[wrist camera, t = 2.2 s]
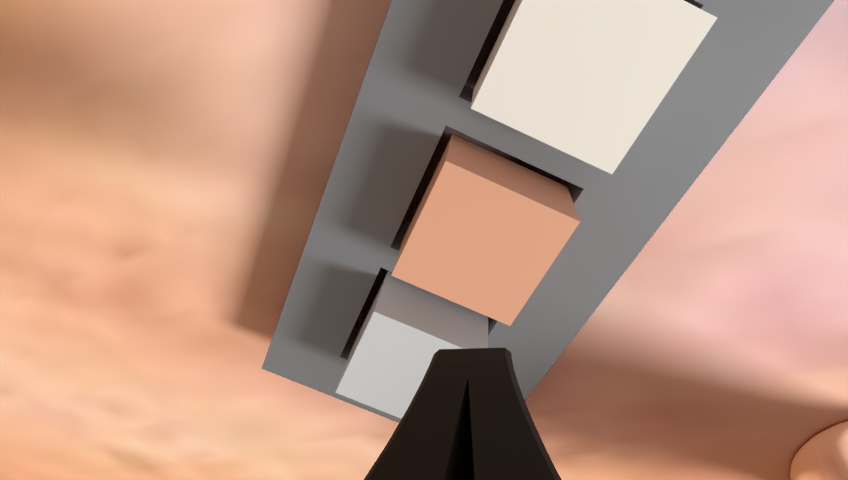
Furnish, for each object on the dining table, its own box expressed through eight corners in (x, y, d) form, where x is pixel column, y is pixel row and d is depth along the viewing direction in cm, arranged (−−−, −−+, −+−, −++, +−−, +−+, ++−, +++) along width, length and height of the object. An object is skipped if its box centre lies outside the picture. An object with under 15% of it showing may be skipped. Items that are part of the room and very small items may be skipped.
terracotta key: (567, 187, 15) (580, 221, 13) (507, 281, 17) (510, 326, 15) (451, 133, 15) (445, 160, 13) (403, 237, 17) (391, 275, 15)
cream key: (679, 10, 13) (717, 18, 11) (593, 145, 15) (612, 174, 13) (542, -59, 13) (554, -67, 10) (473, 88, 14) (470, 108, 12)
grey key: (488, 312, 18) (487, 359, 16) (443, 383, 20) (438, 433, 18) (388, 269, 18) (374, 311, 16) (352, 346, 20) (335, 392, 17)
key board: (815, -38, 13) (864, -40, 12) (483, 418, 23) (482, 455, 21) (480, -217, 12) (479, -249, 11) (279, 336, 22) (261, 368, 20)
